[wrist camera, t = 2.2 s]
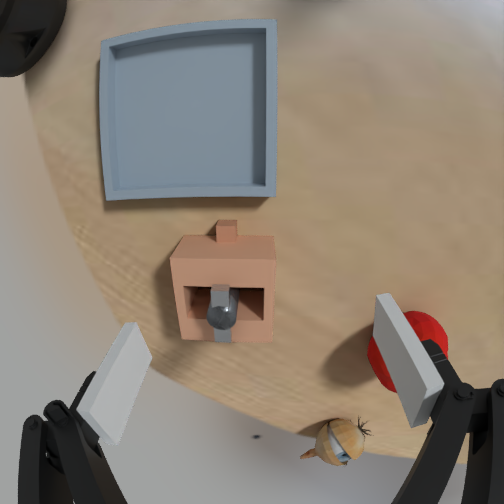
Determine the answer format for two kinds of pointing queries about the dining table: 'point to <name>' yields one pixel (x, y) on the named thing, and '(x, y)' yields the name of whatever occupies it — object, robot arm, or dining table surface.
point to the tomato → (424, 330)
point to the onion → (338, 442)
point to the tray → (190, 111)
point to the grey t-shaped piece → (223, 311)
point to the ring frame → (225, 281)
